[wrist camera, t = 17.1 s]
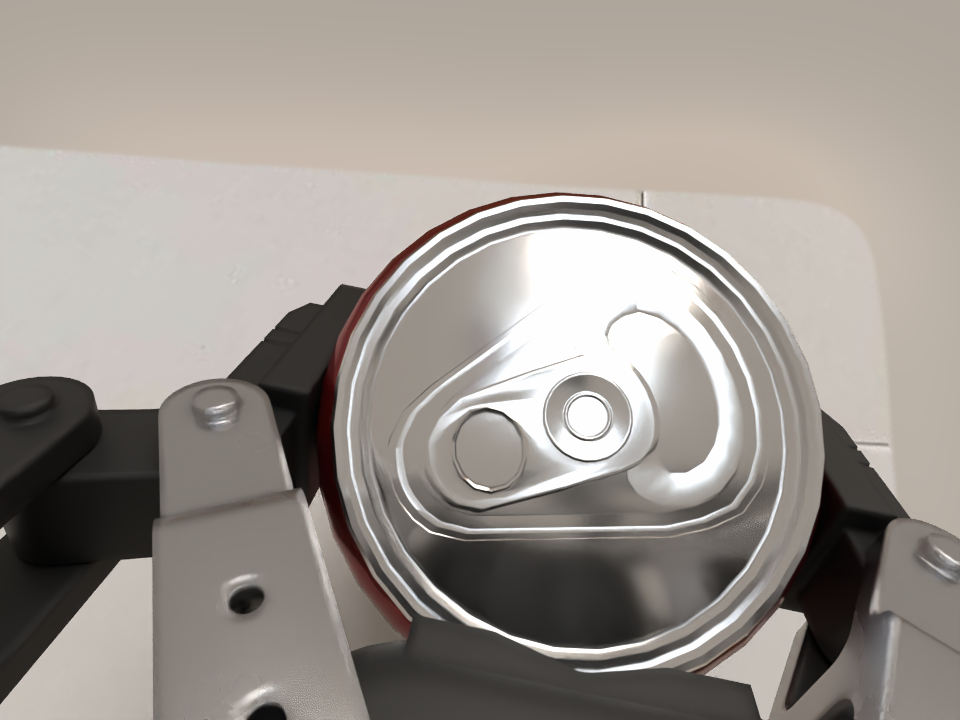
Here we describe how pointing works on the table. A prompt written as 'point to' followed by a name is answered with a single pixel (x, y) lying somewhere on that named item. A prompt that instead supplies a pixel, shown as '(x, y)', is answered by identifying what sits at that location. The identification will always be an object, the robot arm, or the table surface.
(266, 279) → the table surface
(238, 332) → the table surface
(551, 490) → the soda can
